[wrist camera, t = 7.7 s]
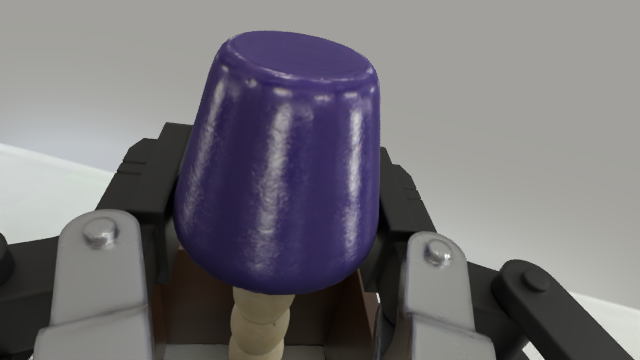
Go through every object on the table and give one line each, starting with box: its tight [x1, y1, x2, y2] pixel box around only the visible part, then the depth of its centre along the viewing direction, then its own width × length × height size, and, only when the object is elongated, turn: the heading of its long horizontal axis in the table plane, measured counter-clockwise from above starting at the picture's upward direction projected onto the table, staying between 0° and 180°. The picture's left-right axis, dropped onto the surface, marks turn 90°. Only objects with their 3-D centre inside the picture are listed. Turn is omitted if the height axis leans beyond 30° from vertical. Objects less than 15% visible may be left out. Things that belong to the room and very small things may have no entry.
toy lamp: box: [173, 31, 381, 360], centre depth 11 cm, size 5×5×17 cm
